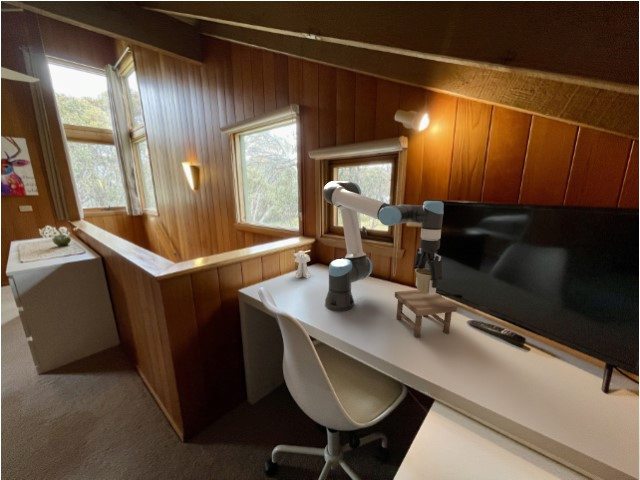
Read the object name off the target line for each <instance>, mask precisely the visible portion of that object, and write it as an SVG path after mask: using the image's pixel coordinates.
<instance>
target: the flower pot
mask: <svg viewBox="0 0 640 480" xmlns="http://www.w3.org/2000/svg"><path fill="white" fill-rule="evenodd" d="M414 272H415V276H416V275H417V286H416V288H417V289H416V290H419V291H420V292H423V293H429V285H430V279H432V278H431V272H430V268H425V267H424V268H422V269H414Z"/></svg>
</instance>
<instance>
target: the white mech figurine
mask: <svg viewBox="0 0 640 480" xmlns="http://www.w3.org/2000/svg"><path fill="white" fill-rule="evenodd" d="M308 252H311V249H308V250H305V251H304V250H298V251H297V252H292V256H294V257H295V258H294V262H295V263H297V264H298V267H297V270H296V271H295V276H294V278H295V279H300V278H302V277H303V278H306V279H309V278H310V274H311V273H310V271H309V269H308V265H307V263H308V262H311V258H310V255H308V254H306V253H308Z"/></svg>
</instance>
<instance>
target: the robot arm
mask: <svg viewBox="0 0 640 480" xmlns="http://www.w3.org/2000/svg"><path fill="white" fill-rule="evenodd" d="M322 195H323V198H324V200H325V201H326V202H327V203H329V204H331V205H333V206H336V208H337V209H338V210H339V211H340V214H341V219H342V227H343V234H344V240H345V246H346V255H345V257H344V258H341V259H339V258H338V259H334V260H332V261H331V262H330V263H329V267H328V291H327V293H326V297H325V301H324V302H325V303H324V305H325V307H326V308H327V309H330V310H331V311H337V312H346V311H349V310H352V309H353V308H354V306H355V300H354V296H353V292H352V284H353V283H356V282H358V281H361V280H364V279H366V278H368V277H369V276H370V275H371V274H372V272H373V263H372V261H371V259H370V258H369V257H367V253H366V252H364V251H363V243H362V237H361V230H360V224H359V216H358V213H360V214H363V215H364V216H368V217H371V218H373V219H376V220H378V221H379V222H380V223H381V224H382V225H383V226H388V227H390V226H397V225H400V224H407V223H413V224H414V223H415V224H421V229H420V241H419V247H420V248H416V255H415V260H414V264H413V269H414V270H416V269H422V268H425V265H426V263H427V264H428V266H429V267H428V268H429V269H430V272H431V278H432V279H430V285H429V295H433V294H435V293H437V292H436V291H437V288H438V282H439V281H442V280H443V265H442V264H443V263H442V261H443V255H440V254H438V250H439V249H440V246H441V237H442V236H441V235H442V228H443V227H442V225H443V217H444V213H445V212H444V207H445V206H444V205H445V204H444V202H443V201H442V200H441V201H439V200H426V201H424V202H423V205H419V204H418V205H416V204H404V203H403V204H398V205H393V204H390V203H387V202H384V201H382V200H378V199H375V198H372V197H368V196H367V195H366V196H365V195H363V194H362V190H361V188H360V185H358V184H357V183H356V182H354V181H349V180H348V181H345V180H344V181H337V180H333V181H329V182H328V183H327V184H326V185H325V186H324V188H323V190H322ZM415 277H416V278H415V287H417V275H416V274H415Z"/></svg>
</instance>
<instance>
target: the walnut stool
mask: <svg viewBox="0 0 640 480" xmlns="http://www.w3.org/2000/svg"><path fill="white" fill-rule="evenodd" d="M394 298H395V299H396V300H397V304H396V305H397V307H396V320H397V321H402V319H404V320H405V321H406V322H407V323H408V324H409V325H410V326H411V327H412V328H413V329H414V331H413V337H414V338H415V339H420V337H421V331H422V321H423V317H424V318H428V317H429V316H432V318H434V319H436V321H438V322H439V323H441V325H443V327H442V333H444V334H446V335H448V334H450V331H451V329H450V328H451V320H452V314H453V313H454V312H457V309H458V305H457V304H455V303H454V302H452V301H450V300H448V299H447V298H445V297H443V296H442V295H440V294H438V293H437V292H436V293H435V294H433V295H429V293H423V292H420V291H419V290H418V289H412V290H411V289H410V290H402V291H401V290H399V291H394ZM404 306H405V307H406V308H407V309H409V310H410V311H411V312H412V313H413V314H415V318H414V319H415V320H414V321H413V320H412V319H410V317H408V316H407V315H406V314H405V313H404V312H403V309H404ZM438 314H439V315H440V314H444V317H443V318H444V319H443V318H442V317H441V316H439V315H438Z"/></svg>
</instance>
